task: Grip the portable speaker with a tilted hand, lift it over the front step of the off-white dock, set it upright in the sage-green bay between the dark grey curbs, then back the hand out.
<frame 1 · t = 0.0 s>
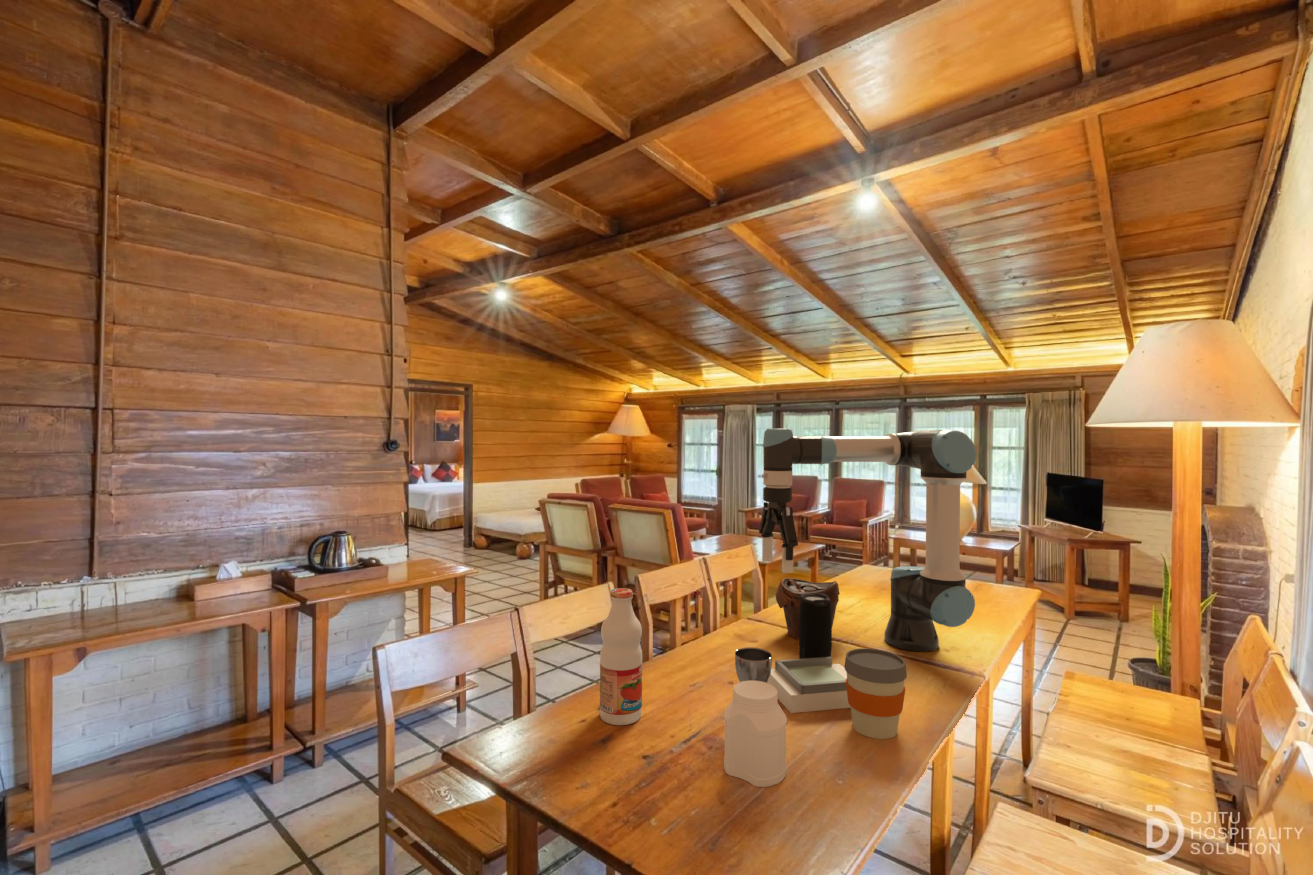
hand: (777, 566, 155), 28 cm above the table, tool pointing down, fingers open, 13 cm apart
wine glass: (752, 723, 127), on the table
brown tapered open container: (807, 635, 184), on the table
fruit juice: (620, 716, 130), on the table
dock: (816, 694, 141), on the table
portable speaker: (814, 669, 157), on the table
jar: (754, 769, 109), on the table
reusable coffee cup: (874, 728, 125), on the table
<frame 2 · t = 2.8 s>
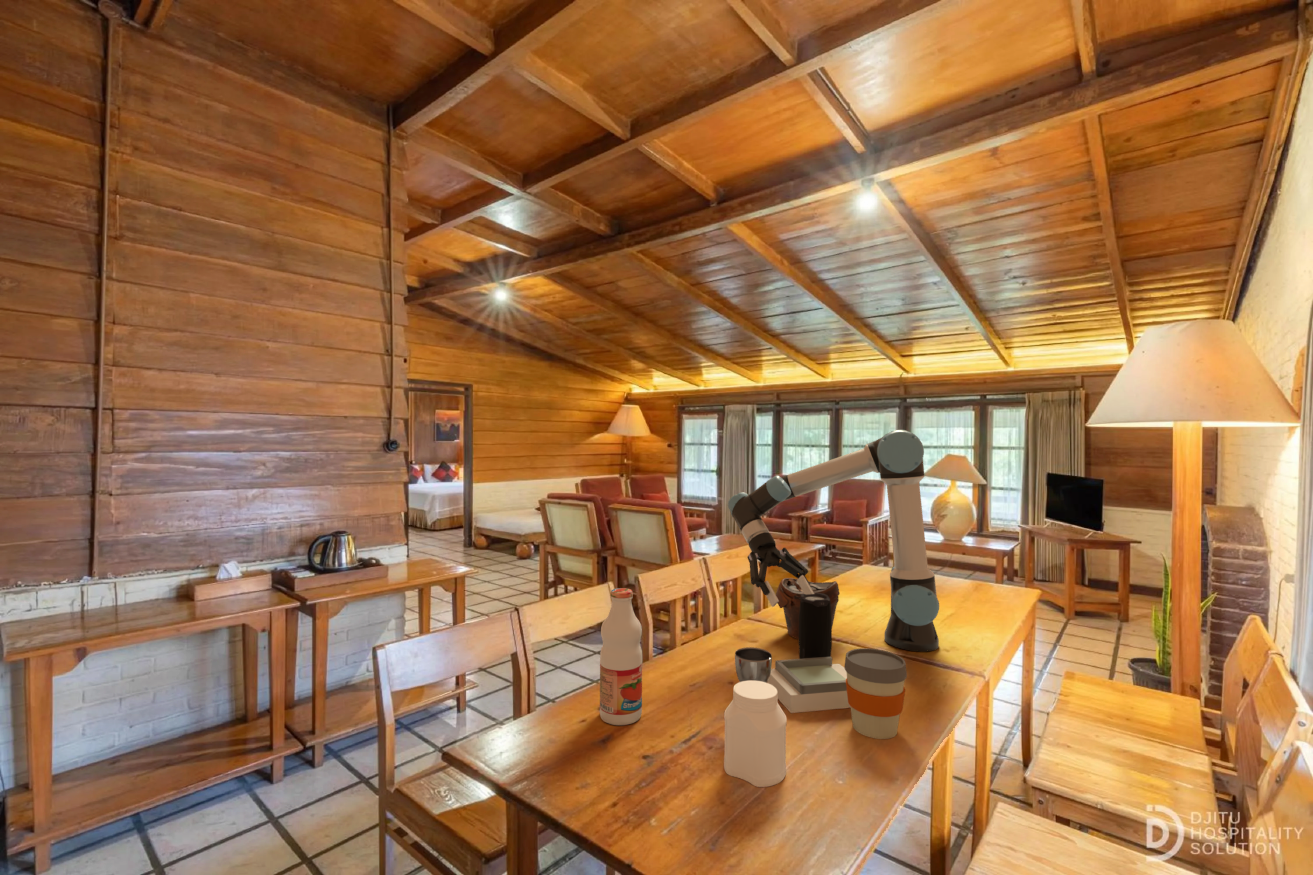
hand: (793, 600, 163), 17 cm above the table, tool tilted 45°, fingers open, 13 cm apart
nothing on the table moved.
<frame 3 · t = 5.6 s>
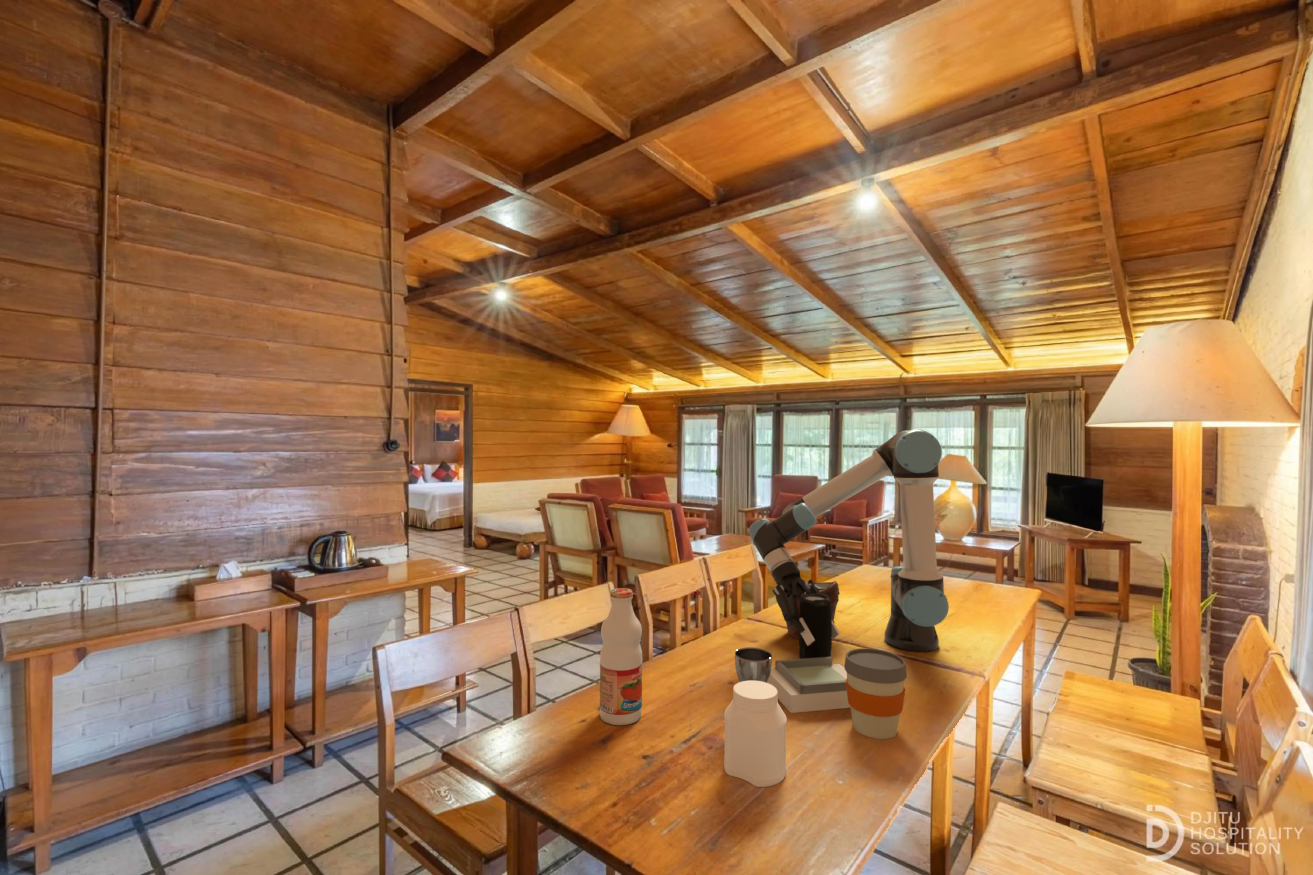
hand: (824, 639, 154), 9 cm above the table, tool tilted 45°, fingers closed on portable speaker, 9 cm apart
portable speaker: (814, 669, 157), on the table, touching gripper
everything else where it was.
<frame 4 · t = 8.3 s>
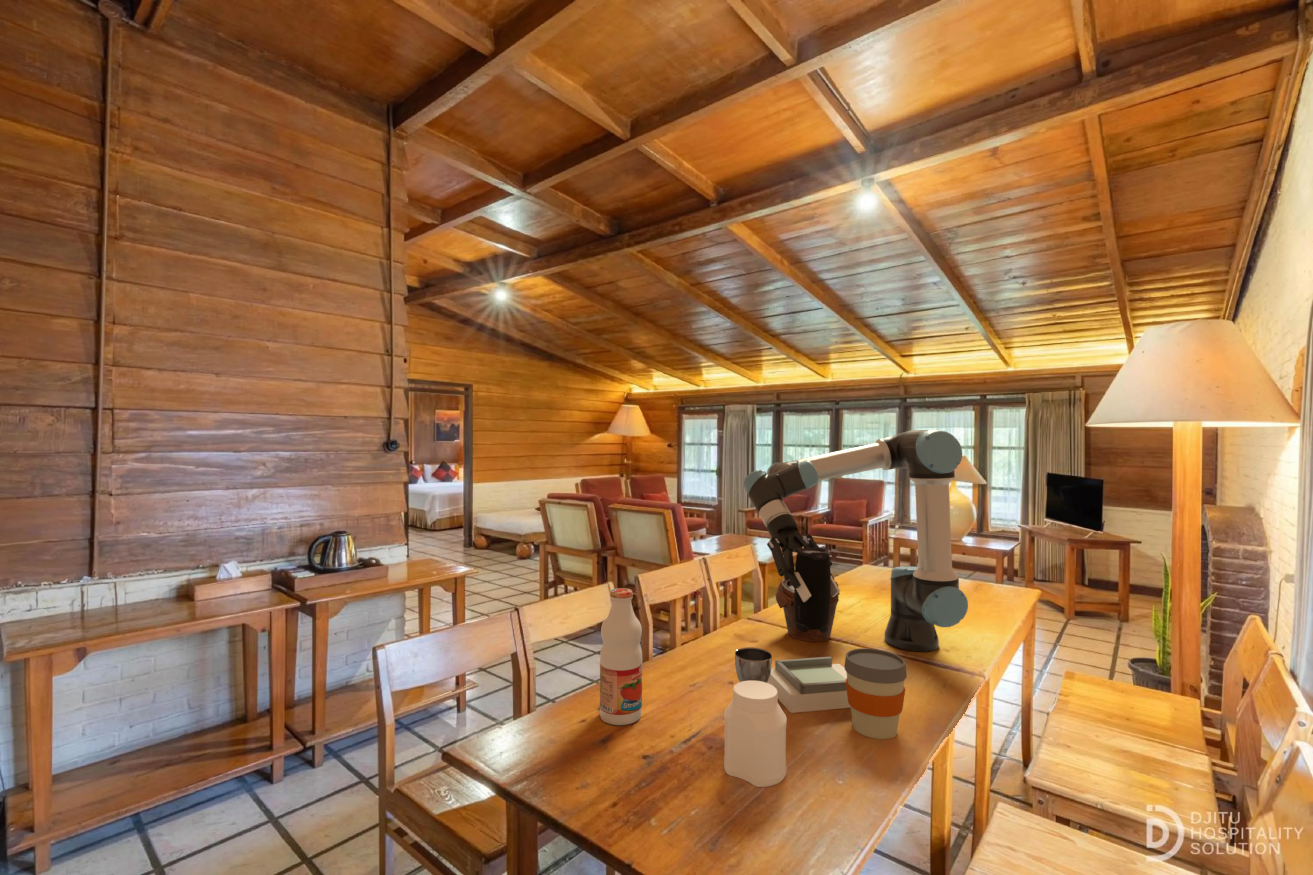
hand: (822, 596, 141), 24 cm above the table, tool tilted 45°, fingers closed on portable speaker, 9 cm apart
portable speaker: (811, 629, 144), point 15 cm above the table, touching gripper
everything else where it was.
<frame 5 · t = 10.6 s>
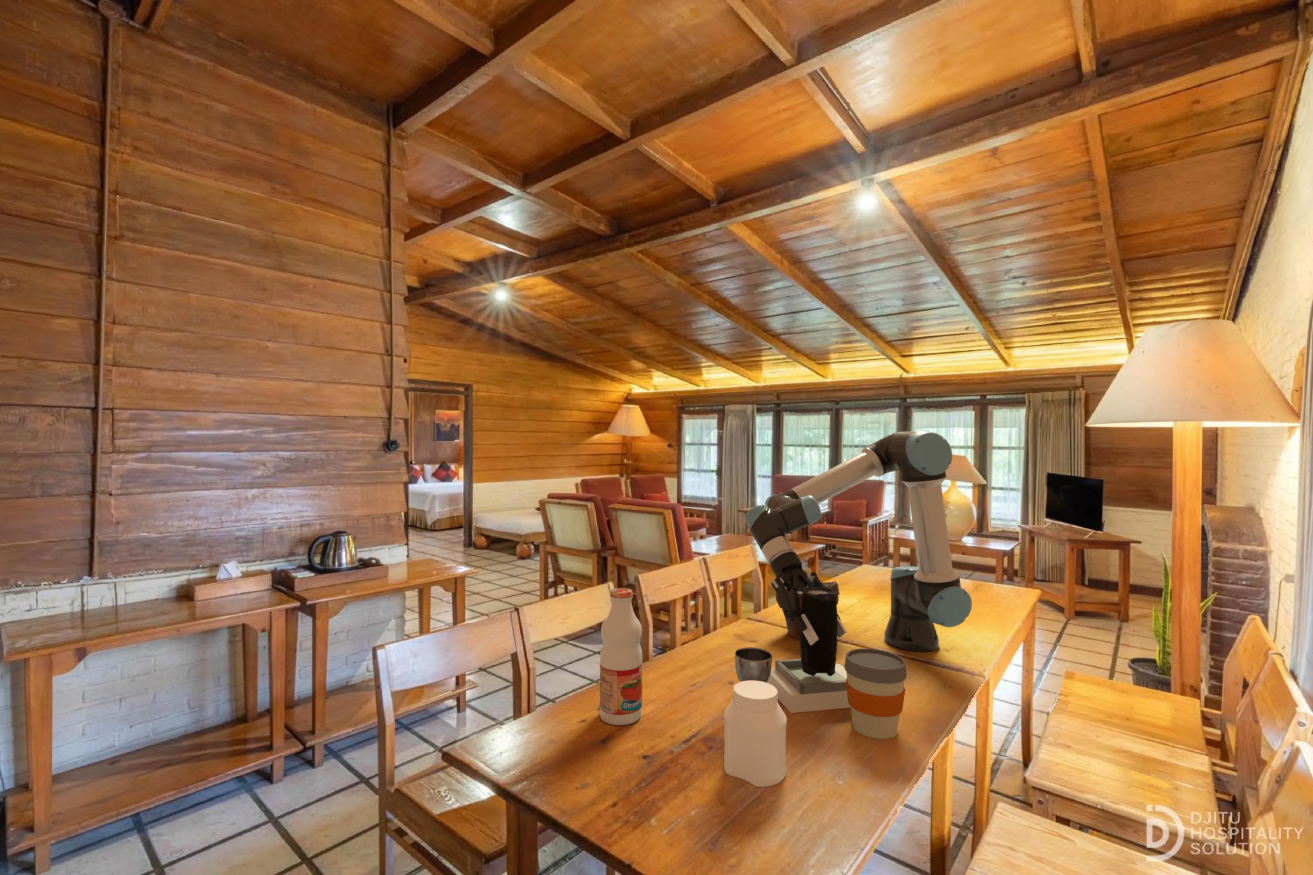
hand: (829, 638, 137), 15 cm above the table, tool tilted 45°, fingers closed on portable speaker, 9 cm apart
portable speaker: (818, 671, 140), point 6 cm above the table, touching gripper
everything else where it was.
when the fingers open (15 cm above the table, at t = 11.2 s): portable speaker drops 2 cm, resting on dock.
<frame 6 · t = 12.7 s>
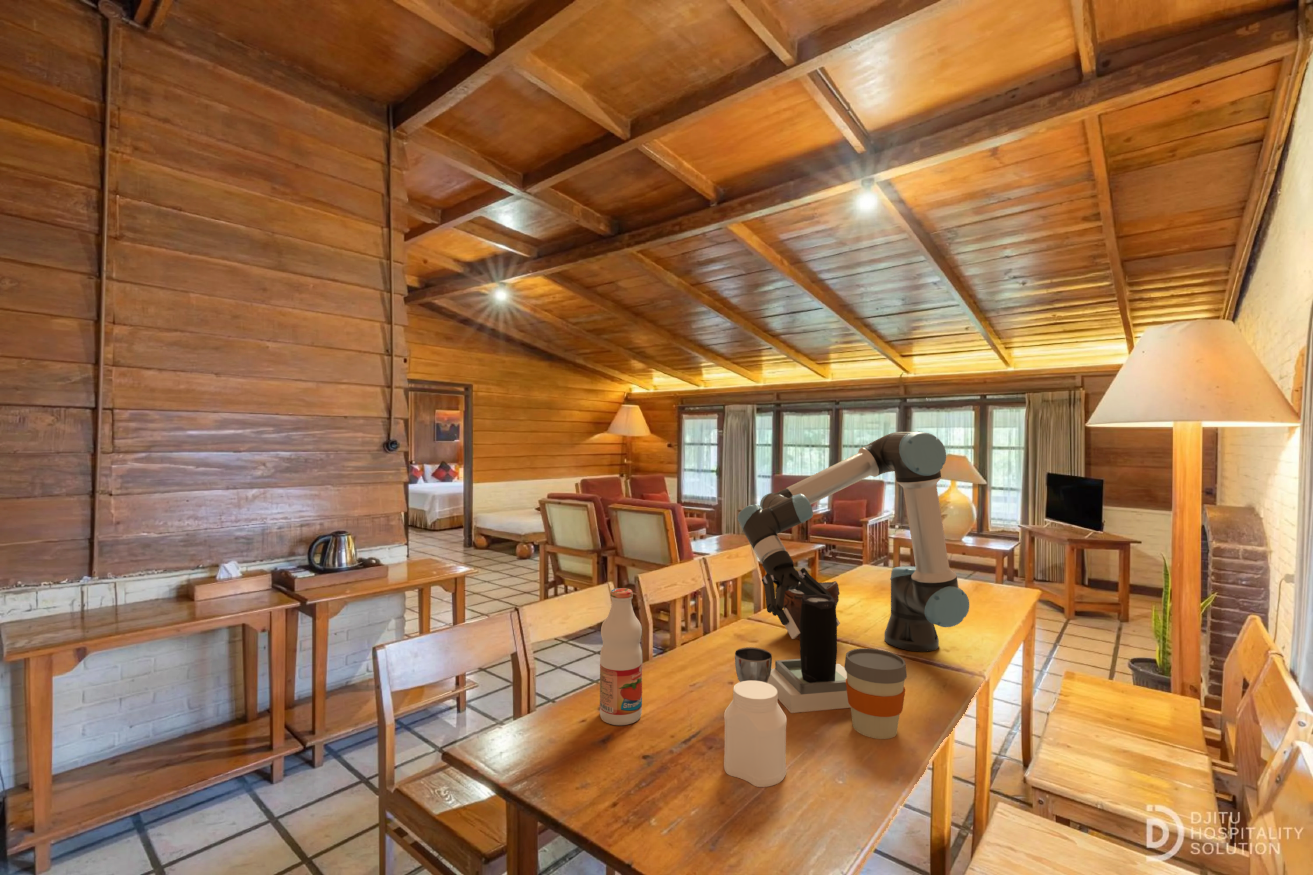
hand: (816, 631, 140), 16 cm above the table, tool tilted 45°, fingers open, 13 cm apart
portable speaker: (818, 679, 140), point 4 cm above the table, touching dock
everything else where it was.
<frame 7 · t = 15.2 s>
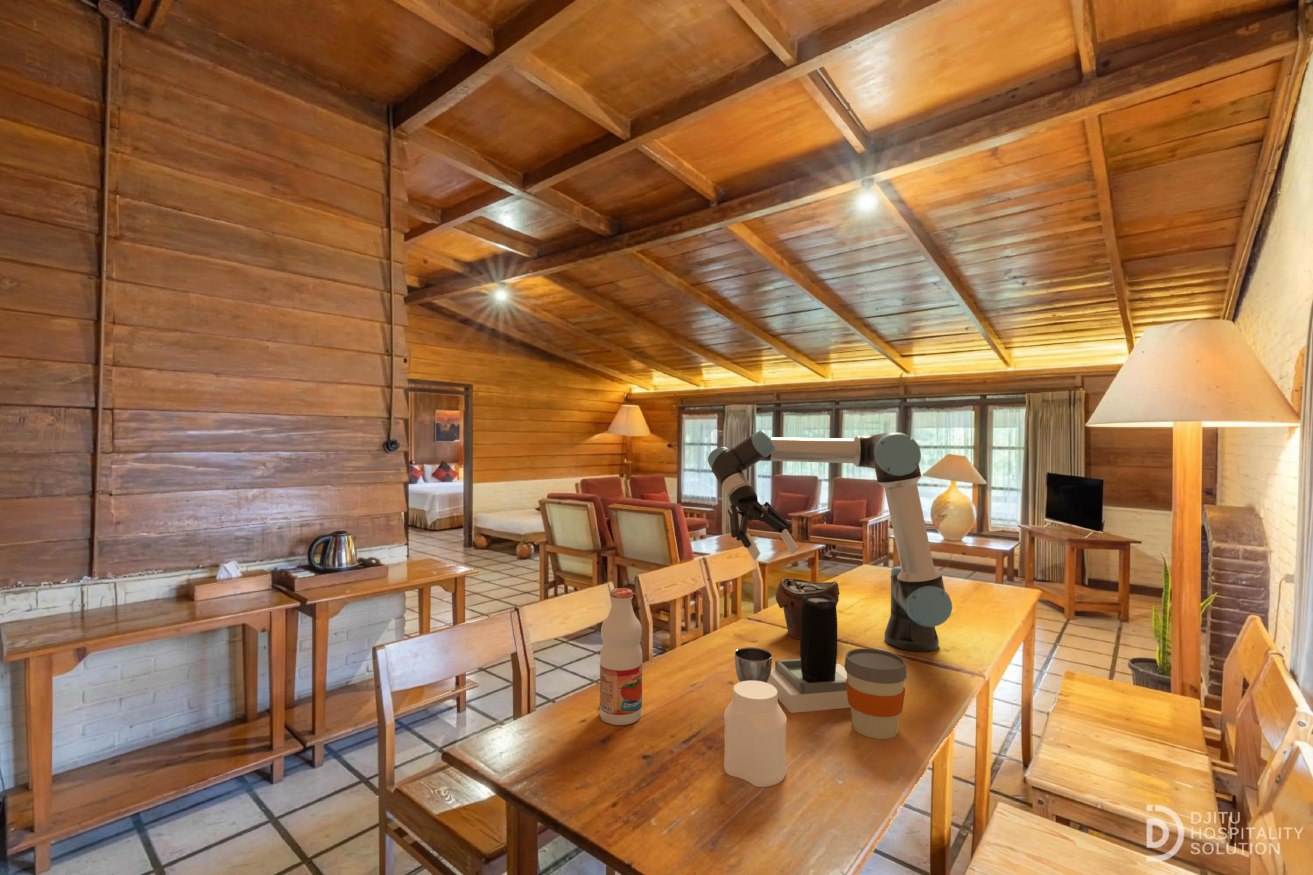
hand: (776, 553, 155), 31 cm above the table, tool tilted 45°, fingers open, 13 cm apart
nothing on the table moved.
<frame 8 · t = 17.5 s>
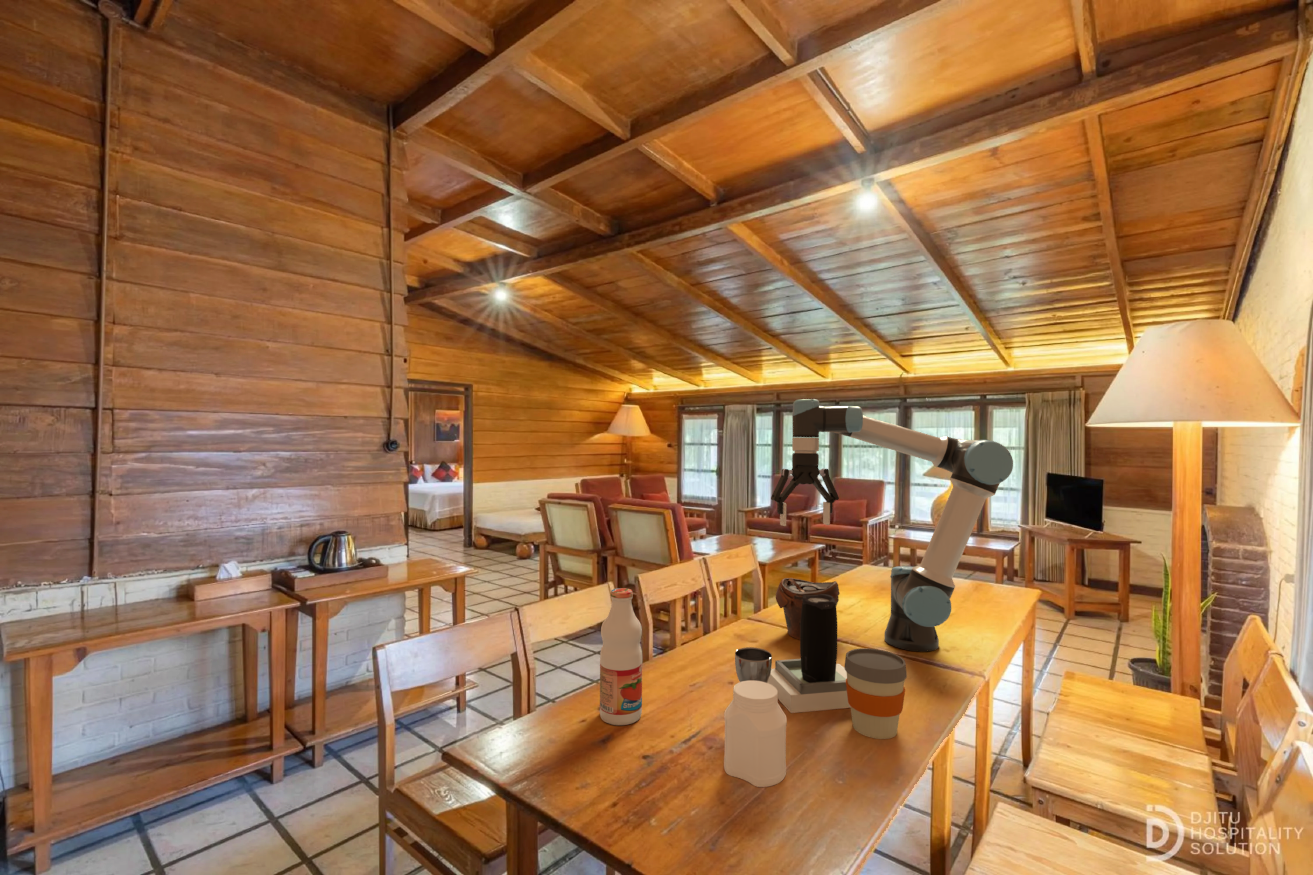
hand: (804, 524, 170), 37 cm above the table, tool pointing down, fingers open, 13 cm apart
nothing on the table moved.
at the end: portable speaker 0.9 cm off-centre on the dock, point 4.1 cm above the dock's base; portable speaker tilted 0°; the gripper is holding nothing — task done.
